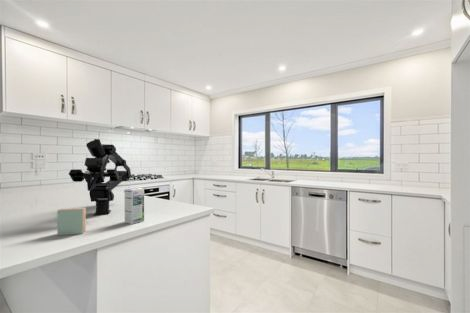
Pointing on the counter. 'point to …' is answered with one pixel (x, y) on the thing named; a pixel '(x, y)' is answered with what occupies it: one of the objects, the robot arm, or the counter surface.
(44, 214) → the counter surface
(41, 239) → the counter surface
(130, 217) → the syrup box
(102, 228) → the counter surface
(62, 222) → the tile
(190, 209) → the counter surface
